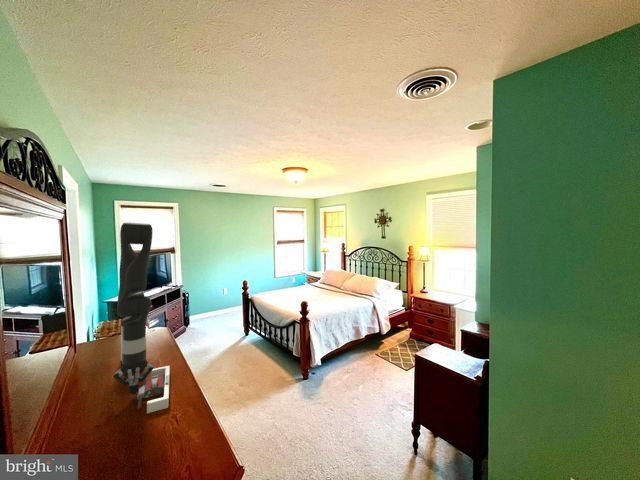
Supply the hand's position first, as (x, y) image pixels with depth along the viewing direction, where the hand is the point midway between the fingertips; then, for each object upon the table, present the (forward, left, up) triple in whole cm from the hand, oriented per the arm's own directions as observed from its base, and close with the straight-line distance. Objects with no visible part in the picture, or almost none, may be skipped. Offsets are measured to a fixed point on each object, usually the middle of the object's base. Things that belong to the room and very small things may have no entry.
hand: (134, 393), depth 98 cm
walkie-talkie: (0, +6, -2) cm, 6 cm away
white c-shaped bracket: (0, +8, -2) cm, 8 cm away
